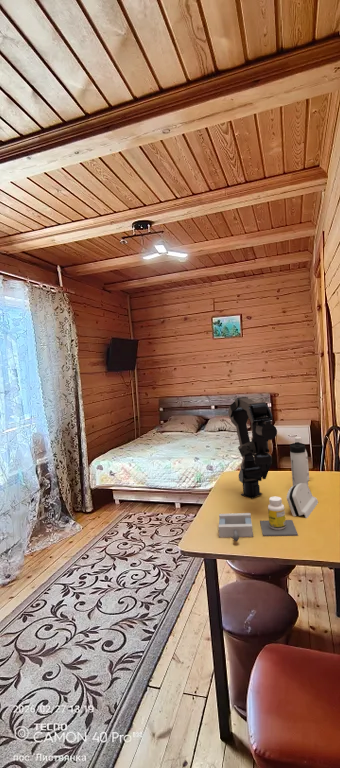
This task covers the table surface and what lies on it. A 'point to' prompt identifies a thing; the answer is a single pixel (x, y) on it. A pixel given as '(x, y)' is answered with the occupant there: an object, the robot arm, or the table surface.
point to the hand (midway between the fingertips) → (262, 475)
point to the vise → (235, 525)
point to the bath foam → (299, 439)
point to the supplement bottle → (276, 513)
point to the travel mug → (298, 463)
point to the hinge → (301, 500)
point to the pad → (287, 531)
